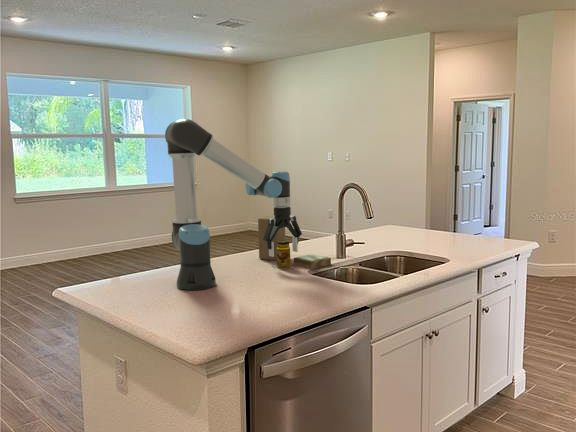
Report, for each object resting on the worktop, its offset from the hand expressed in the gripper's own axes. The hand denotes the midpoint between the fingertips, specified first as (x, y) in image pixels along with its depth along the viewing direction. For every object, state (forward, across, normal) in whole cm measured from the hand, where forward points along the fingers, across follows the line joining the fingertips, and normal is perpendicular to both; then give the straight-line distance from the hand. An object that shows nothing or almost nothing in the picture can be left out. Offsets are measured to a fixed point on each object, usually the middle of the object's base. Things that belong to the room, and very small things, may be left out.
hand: (283, 253), depth 229 cm
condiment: (+6, 0, 0) cm, 6 cm away
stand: (+6, +13, -5) cm, 15 cm away
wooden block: (+6, +8, +18) cm, 21 cm away
